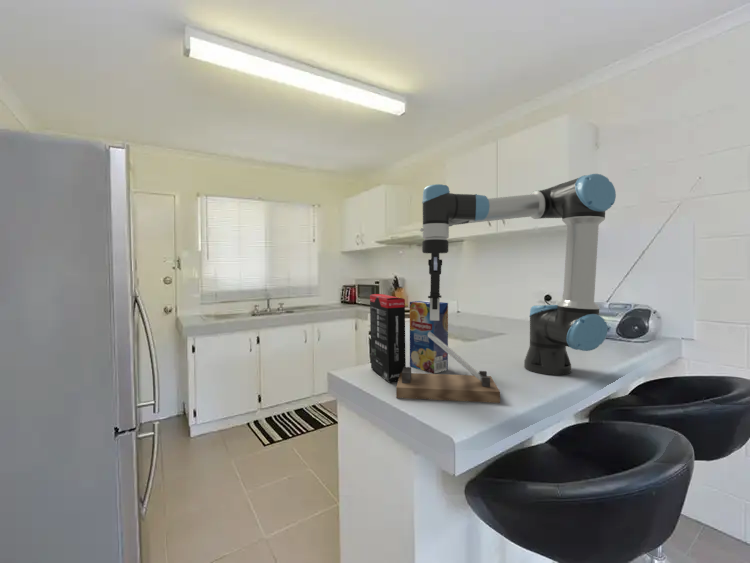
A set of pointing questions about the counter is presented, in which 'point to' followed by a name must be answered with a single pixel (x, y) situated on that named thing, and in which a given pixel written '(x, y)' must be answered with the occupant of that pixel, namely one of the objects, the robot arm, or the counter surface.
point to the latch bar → (455, 356)
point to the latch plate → (447, 387)
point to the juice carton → (421, 346)
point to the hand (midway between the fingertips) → (434, 320)
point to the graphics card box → (387, 335)
